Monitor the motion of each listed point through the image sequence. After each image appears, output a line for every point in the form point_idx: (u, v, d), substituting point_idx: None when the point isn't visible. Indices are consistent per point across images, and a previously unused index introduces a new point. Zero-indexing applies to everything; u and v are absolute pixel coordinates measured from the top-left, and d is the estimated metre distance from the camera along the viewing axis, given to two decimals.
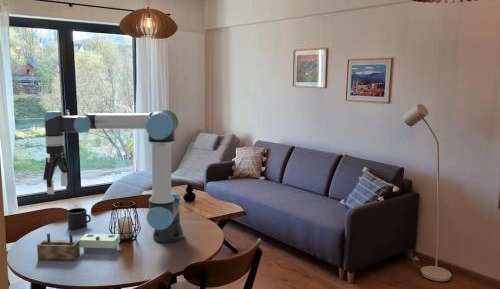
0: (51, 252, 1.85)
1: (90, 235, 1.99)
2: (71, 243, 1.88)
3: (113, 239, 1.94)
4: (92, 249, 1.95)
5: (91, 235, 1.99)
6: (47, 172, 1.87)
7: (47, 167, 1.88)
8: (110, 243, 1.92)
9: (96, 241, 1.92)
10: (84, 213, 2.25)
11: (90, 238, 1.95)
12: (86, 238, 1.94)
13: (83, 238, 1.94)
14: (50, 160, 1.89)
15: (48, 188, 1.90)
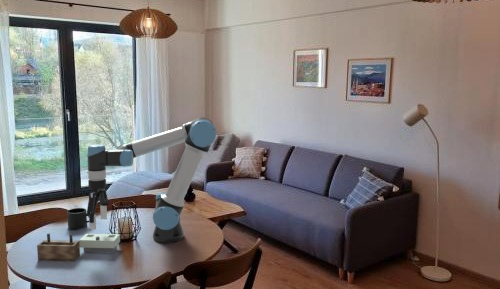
0: (51, 252, 1.85)
1: (90, 235, 1.99)
2: (71, 243, 1.88)
3: (113, 239, 1.94)
4: (92, 249, 1.95)
5: (91, 235, 1.99)
6: (90, 208, 1.85)
7: (90, 203, 1.85)
8: (110, 243, 1.92)
9: (96, 241, 1.92)
10: (84, 213, 2.25)
11: (90, 238, 1.95)
12: (86, 238, 1.94)
13: (83, 238, 1.94)
14: (93, 195, 1.86)
15: (90, 223, 1.88)
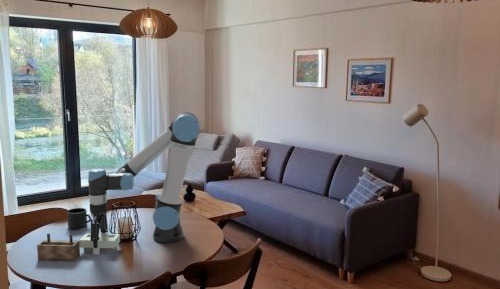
0: (51, 252, 1.85)
1: (90, 235, 1.99)
2: (71, 243, 1.88)
3: (113, 239, 1.94)
4: (92, 249, 1.95)
5: None
6: (93, 234, 1.88)
7: (93, 229, 1.88)
8: (110, 243, 1.92)
9: None
10: (84, 213, 2.25)
11: (90, 238, 1.95)
12: (86, 238, 1.94)
13: (83, 238, 1.94)
14: (95, 222, 1.88)
15: (94, 248, 1.92)
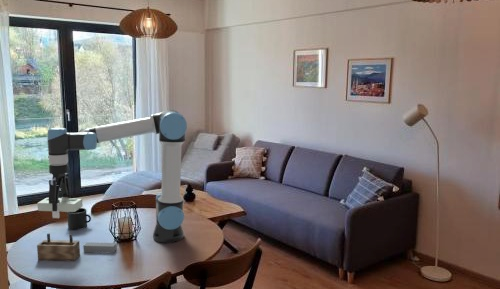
0: (51, 252, 1.85)
1: None
2: (71, 243, 1.88)
3: (74, 202, 1.83)
4: (92, 249, 1.95)
5: None
6: (52, 196, 1.78)
7: (51, 190, 1.78)
8: (71, 206, 1.82)
9: None
10: (84, 213, 2.25)
11: None
12: (45, 201, 1.83)
13: (42, 201, 1.84)
14: (53, 183, 1.77)
15: (53, 212, 1.81)
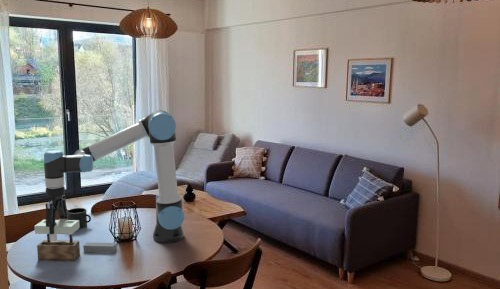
0: (51, 252, 1.85)
1: None
2: (71, 243, 1.88)
3: (71, 225, 1.84)
4: (92, 249, 1.95)
5: None
6: (49, 219, 1.78)
7: (48, 214, 1.78)
8: (68, 229, 1.82)
9: None
10: (84, 213, 2.25)
11: None
12: (42, 224, 1.84)
13: (39, 224, 1.84)
14: (50, 206, 1.78)
15: (51, 235, 1.82)
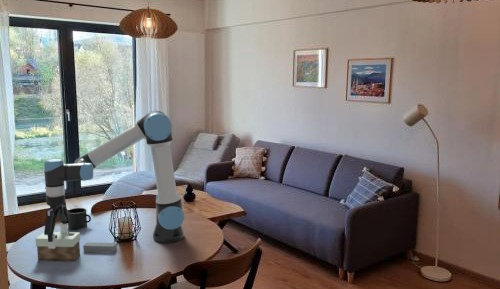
0: (51, 252, 1.85)
1: None
2: None
3: (71, 237, 1.85)
4: (92, 249, 1.95)
5: None
6: (48, 227, 1.78)
7: (48, 221, 1.78)
8: (68, 241, 1.83)
9: None
10: (84, 213, 2.25)
11: None
12: (43, 237, 1.85)
13: (40, 236, 1.85)
14: (50, 213, 1.78)
15: (49, 242, 1.81)
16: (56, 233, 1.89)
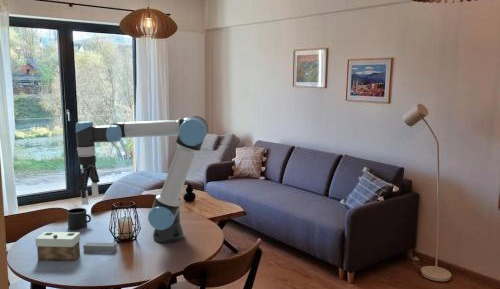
0: (51, 252, 1.85)
1: (49, 233, 1.90)
2: None
3: (71, 237, 1.85)
4: (92, 249, 1.95)
5: (50, 233, 1.90)
6: (82, 183, 1.87)
7: (81, 178, 1.87)
8: (68, 241, 1.83)
9: (53, 239, 1.83)
10: (84, 213, 2.25)
11: (48, 236, 1.85)
12: (43, 237, 1.85)
13: (40, 236, 1.85)
14: (84, 171, 1.88)
15: (83, 199, 1.90)
16: (56, 233, 1.89)
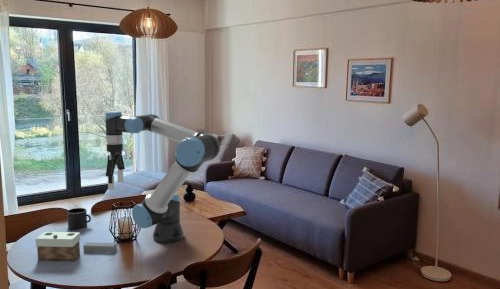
0: (51, 252, 1.85)
1: (49, 233, 1.90)
2: None
3: (71, 237, 1.85)
4: (92, 249, 1.95)
5: (50, 233, 1.90)
6: (109, 169, 1.98)
7: (109, 164, 1.99)
8: (68, 241, 1.83)
9: (53, 239, 1.83)
10: (84, 213, 2.25)
11: (48, 236, 1.85)
12: (43, 237, 1.85)
13: (40, 236, 1.85)
14: (112, 158, 2.00)
15: (109, 184, 2.01)
16: (56, 233, 1.89)
